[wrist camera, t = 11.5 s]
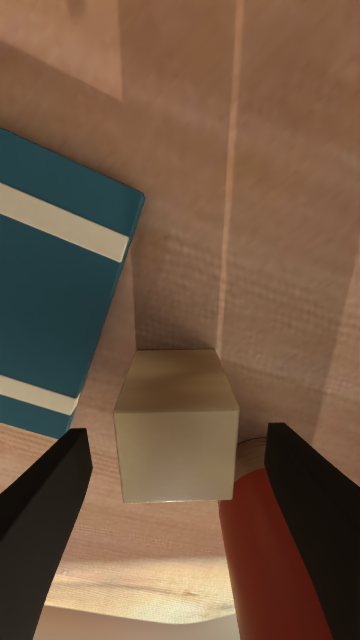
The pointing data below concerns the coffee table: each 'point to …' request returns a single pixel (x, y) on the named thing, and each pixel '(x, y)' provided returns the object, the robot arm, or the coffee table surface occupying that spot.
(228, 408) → the block
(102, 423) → the coffee table surface
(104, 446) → the coffee table surface
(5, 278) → the towel
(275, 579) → the can
